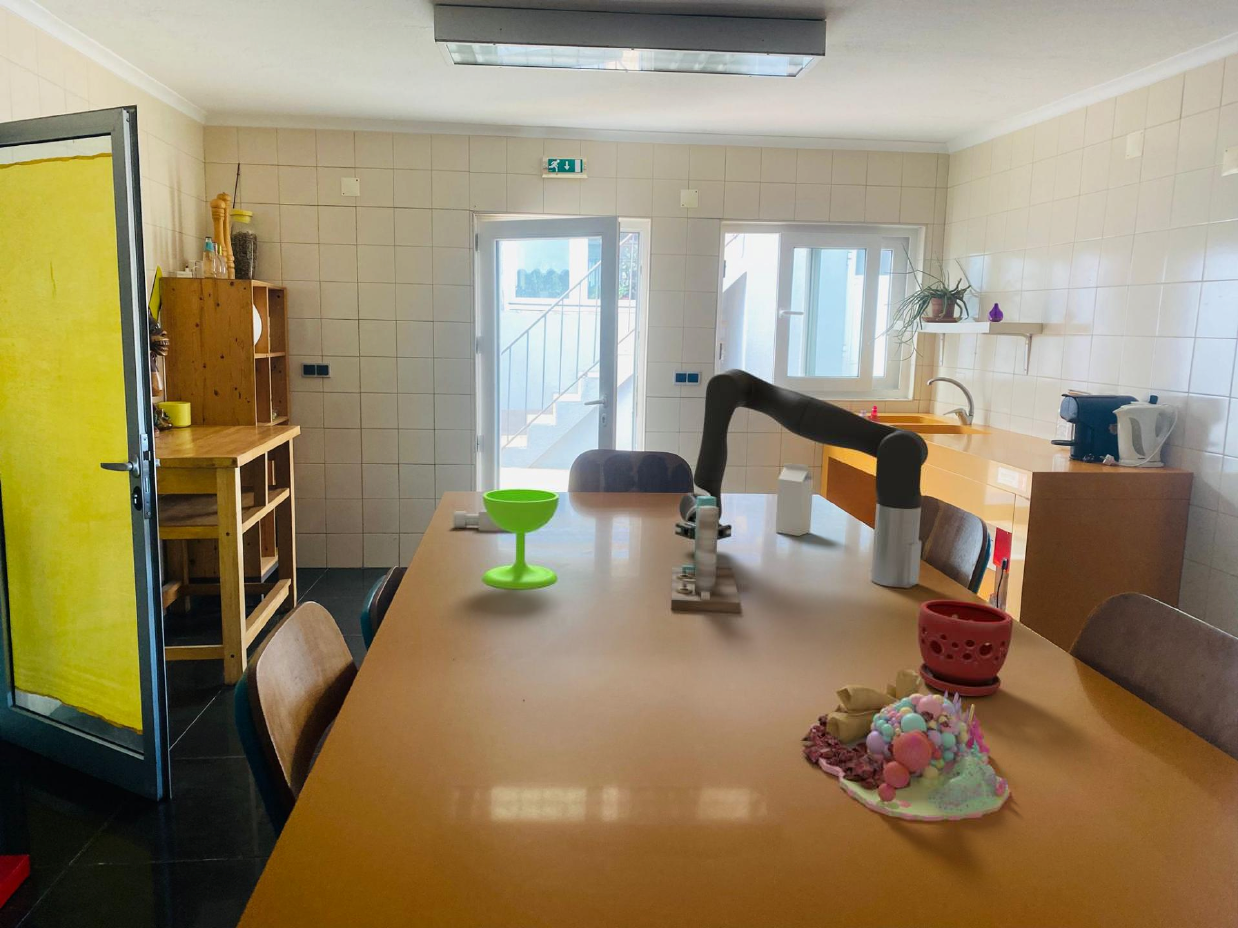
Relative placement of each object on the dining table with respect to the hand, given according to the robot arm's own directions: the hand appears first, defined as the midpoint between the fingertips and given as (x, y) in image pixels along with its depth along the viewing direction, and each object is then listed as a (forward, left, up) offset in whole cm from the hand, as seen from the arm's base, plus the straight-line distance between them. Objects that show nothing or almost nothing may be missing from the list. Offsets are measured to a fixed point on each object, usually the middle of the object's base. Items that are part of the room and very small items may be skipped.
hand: (704, 538), depth 181 cm
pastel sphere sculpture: (-63, +49, -11) cm, 80 cm away
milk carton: (+11, -61, -10) cm, 63 cm away
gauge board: (-3, +5, -10) cm, 11 cm away
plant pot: (-59, +19, -10) cm, 63 cm away
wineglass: (+31, +24, -10) cm, 40 cm away
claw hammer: (+79, -16, -11) cm, 81 cm away
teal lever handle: (0, +2, -7) cm, 8 cm away
